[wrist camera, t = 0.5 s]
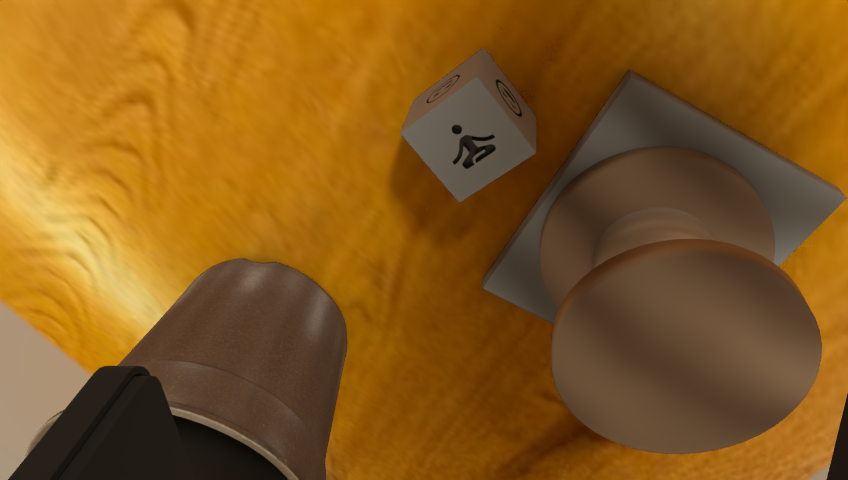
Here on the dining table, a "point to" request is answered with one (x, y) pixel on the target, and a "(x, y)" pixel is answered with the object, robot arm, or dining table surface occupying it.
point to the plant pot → (248, 371)
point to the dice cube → (471, 126)
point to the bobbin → (670, 276)
